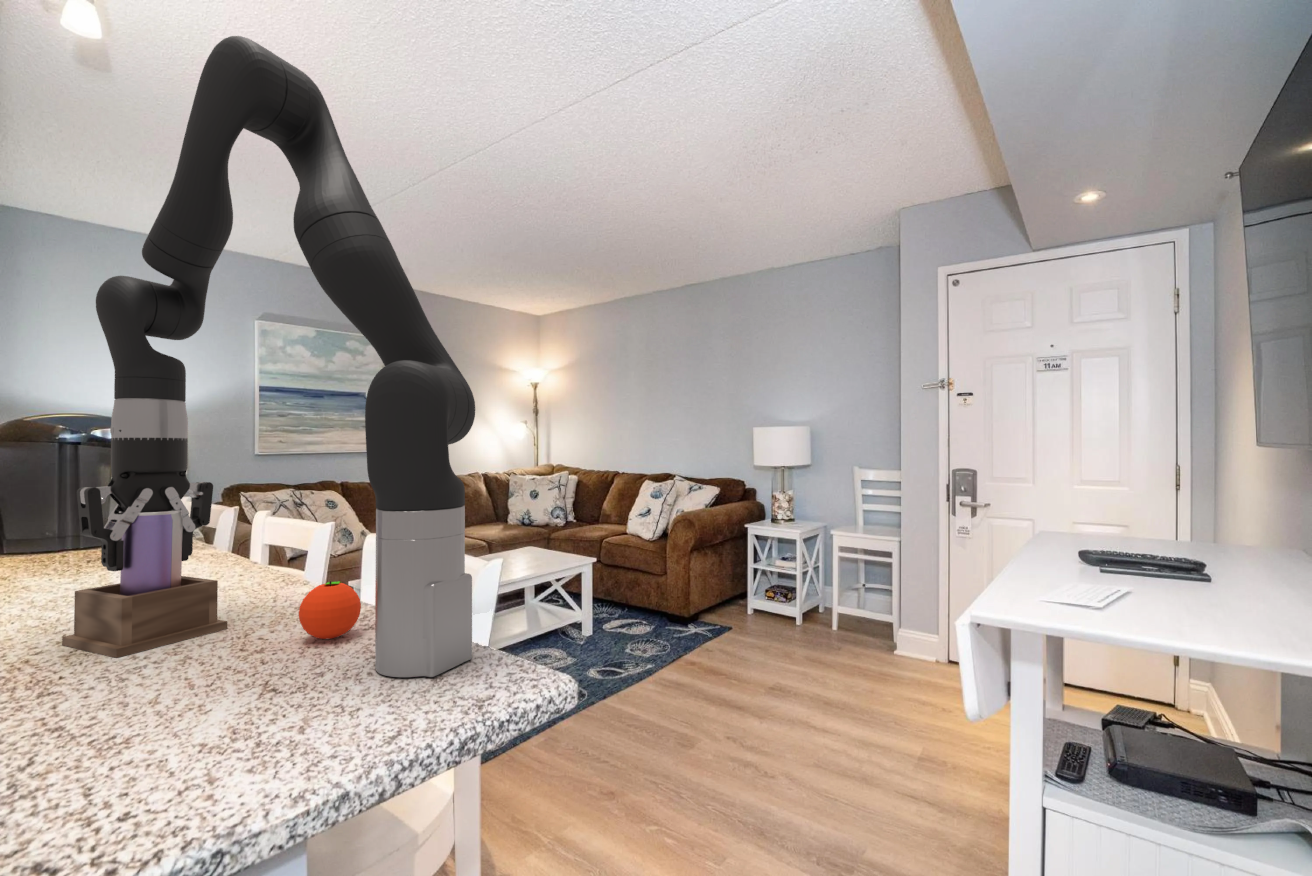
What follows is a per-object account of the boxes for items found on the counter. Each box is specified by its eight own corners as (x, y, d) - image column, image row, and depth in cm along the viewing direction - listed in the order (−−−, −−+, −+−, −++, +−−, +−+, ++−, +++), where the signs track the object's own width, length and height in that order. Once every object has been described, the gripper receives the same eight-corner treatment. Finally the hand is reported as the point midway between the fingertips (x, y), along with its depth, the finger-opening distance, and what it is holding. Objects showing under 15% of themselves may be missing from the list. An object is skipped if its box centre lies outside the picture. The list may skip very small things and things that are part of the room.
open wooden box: (227, 628, 79) (227, 579, 79) (116, 657, 68) (117, 601, 68) (173, 619, 84) (174, 573, 84) (62, 645, 73) (62, 591, 73)
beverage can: (144, 636, 72) (148, 513, 73) (105, 633, 73) (109, 512, 74) (191, 622, 78) (194, 509, 79) (154, 620, 79) (158, 508, 80)
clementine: (311, 629, 78) (312, 575, 78) (368, 625, 80) (368, 572, 80) (289, 649, 71) (290, 589, 71) (353, 644, 72) (353, 585, 72)
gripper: (96, 434, 68) (94, 579, 68) (228, 436, 81) (227, 557, 81) (62, 435, 71) (60, 574, 71) (194, 437, 84) (193, 554, 84)
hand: (149, 565), depth 76 cm, fingers open, 6 cm apart
